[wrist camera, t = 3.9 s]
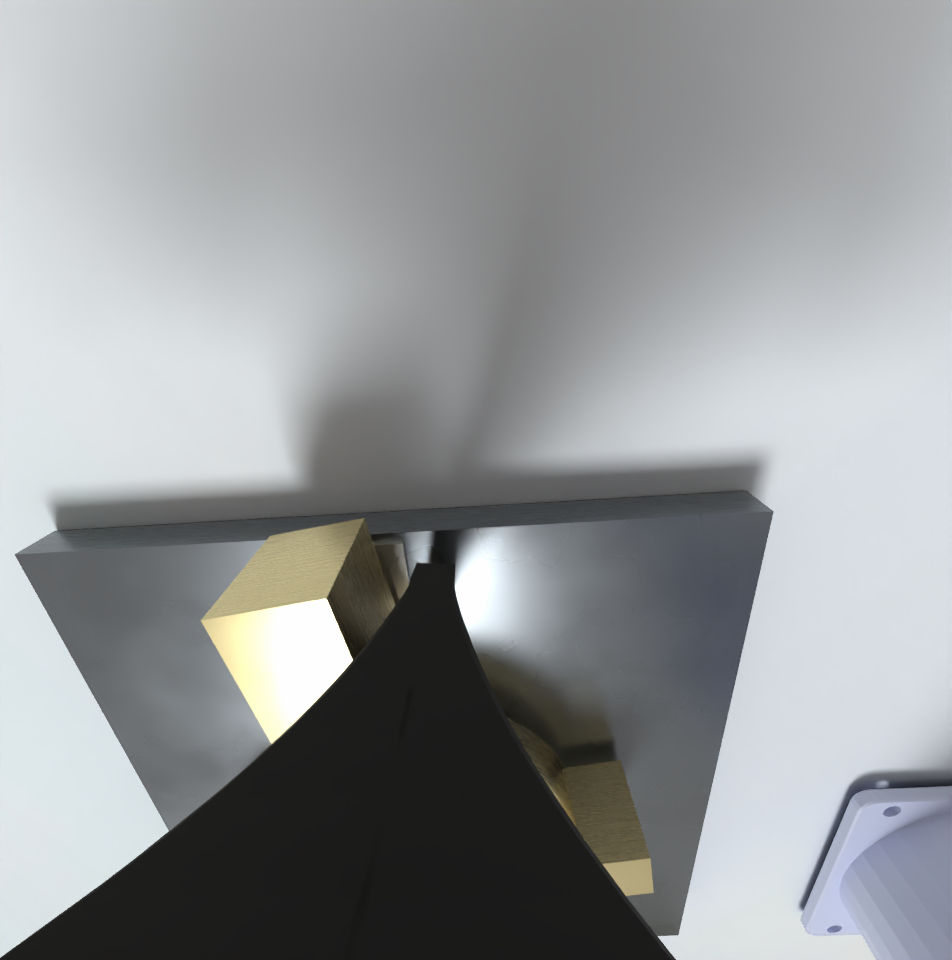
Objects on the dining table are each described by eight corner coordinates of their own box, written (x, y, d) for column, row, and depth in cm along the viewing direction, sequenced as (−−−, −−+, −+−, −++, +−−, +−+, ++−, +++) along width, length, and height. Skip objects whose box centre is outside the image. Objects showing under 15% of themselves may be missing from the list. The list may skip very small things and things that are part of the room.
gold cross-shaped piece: (636, 886, 14) (668, 1007, 12) (311, 923, 15) (280, 1043, 13) (586, 475, 9) (627, 549, 6) (72, 573, 9) (-63, 670, 7)
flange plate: (746, 491, 10) (900, 608, 6) (665, 906, 17) (717, 1076, 13) (54, 530, 11) (-171, 662, 7) (251, 921, 18) (192, 1090, 14)
